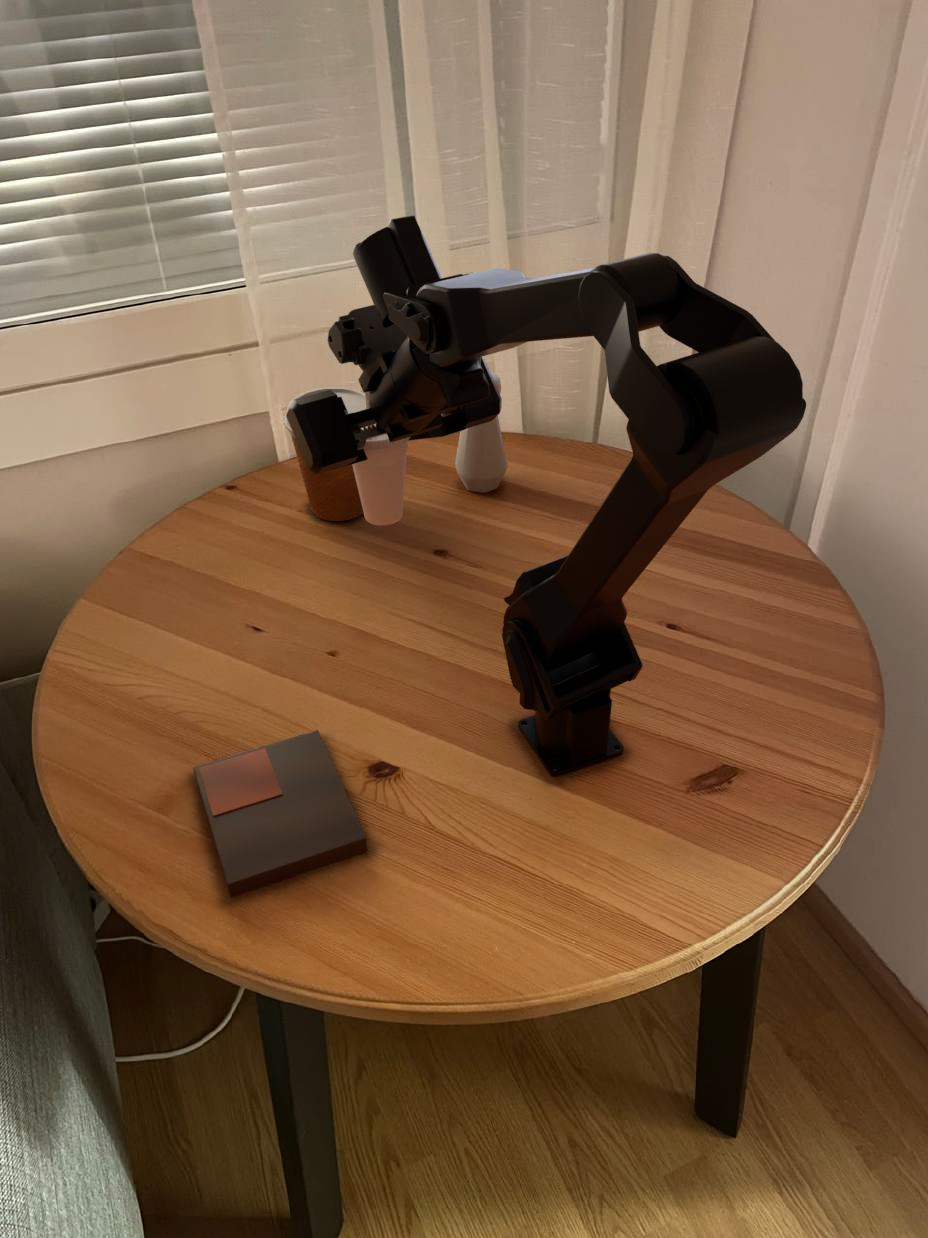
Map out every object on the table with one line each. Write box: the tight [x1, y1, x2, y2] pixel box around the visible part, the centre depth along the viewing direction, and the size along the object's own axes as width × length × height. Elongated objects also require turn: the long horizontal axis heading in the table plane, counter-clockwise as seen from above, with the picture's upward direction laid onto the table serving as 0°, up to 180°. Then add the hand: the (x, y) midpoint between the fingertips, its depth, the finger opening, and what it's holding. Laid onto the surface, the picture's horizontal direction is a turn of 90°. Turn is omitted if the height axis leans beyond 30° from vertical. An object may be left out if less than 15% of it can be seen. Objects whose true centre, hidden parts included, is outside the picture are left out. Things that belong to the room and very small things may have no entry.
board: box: [192, 729, 368, 898], centre depth 75 cm, size 12×10×2 cm
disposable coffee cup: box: [283, 386, 366, 522], centre depth 106 cm, size 10×10×12 cm
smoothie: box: [352, 392, 410, 526], centre depth 94 cm, size 6×6×14 cm
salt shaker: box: [454, 371, 509, 494], centre depth 109 cm, size 6×6×13 cm
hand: (371, 444), depth 95 cm, fingers closed on smoothie, 6 cm apart
